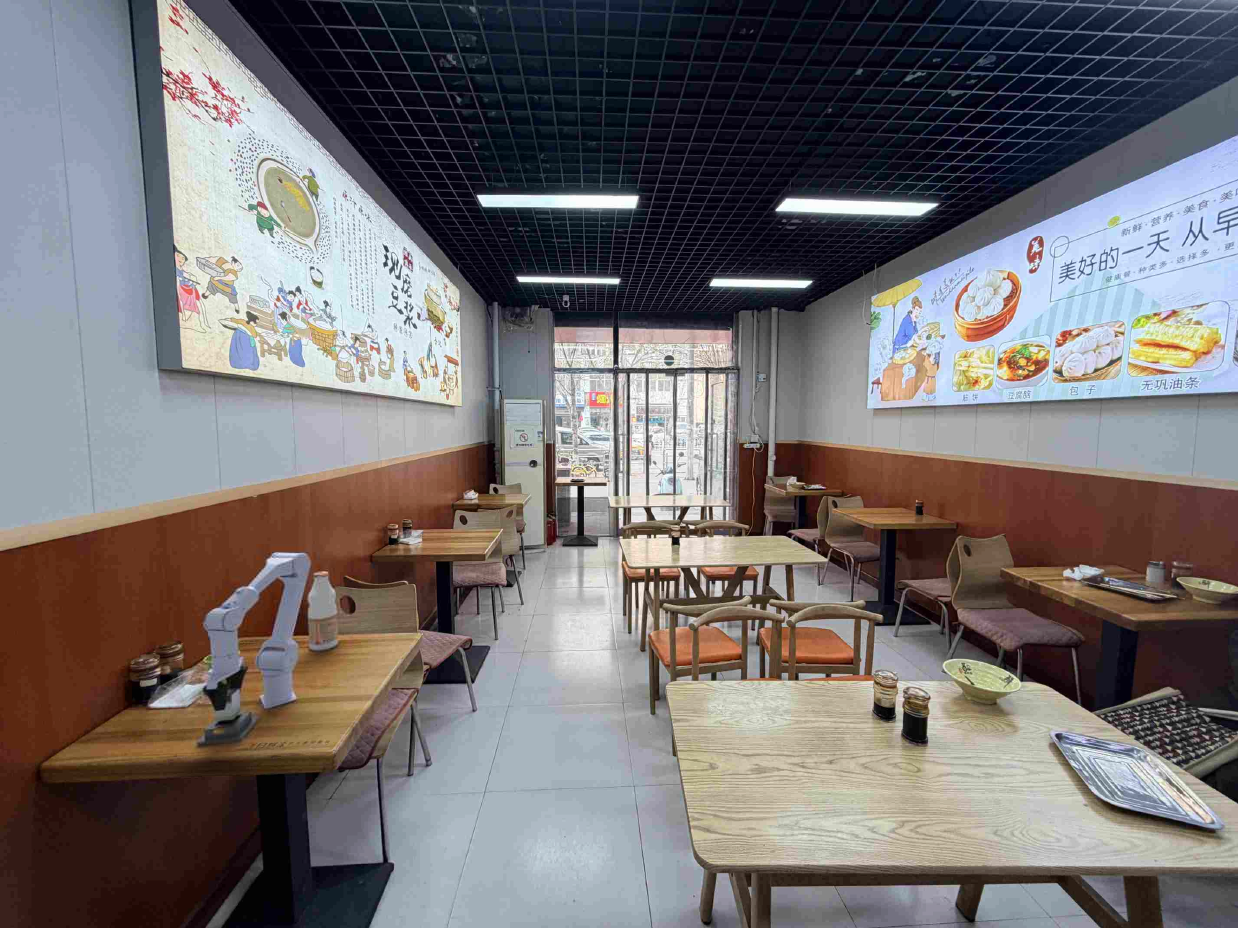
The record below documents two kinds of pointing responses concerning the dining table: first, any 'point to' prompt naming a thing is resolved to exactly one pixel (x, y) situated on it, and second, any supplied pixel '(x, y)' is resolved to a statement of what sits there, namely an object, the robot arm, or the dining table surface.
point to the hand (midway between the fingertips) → (227, 702)
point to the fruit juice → (322, 614)
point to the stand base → (228, 729)
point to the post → (230, 706)
